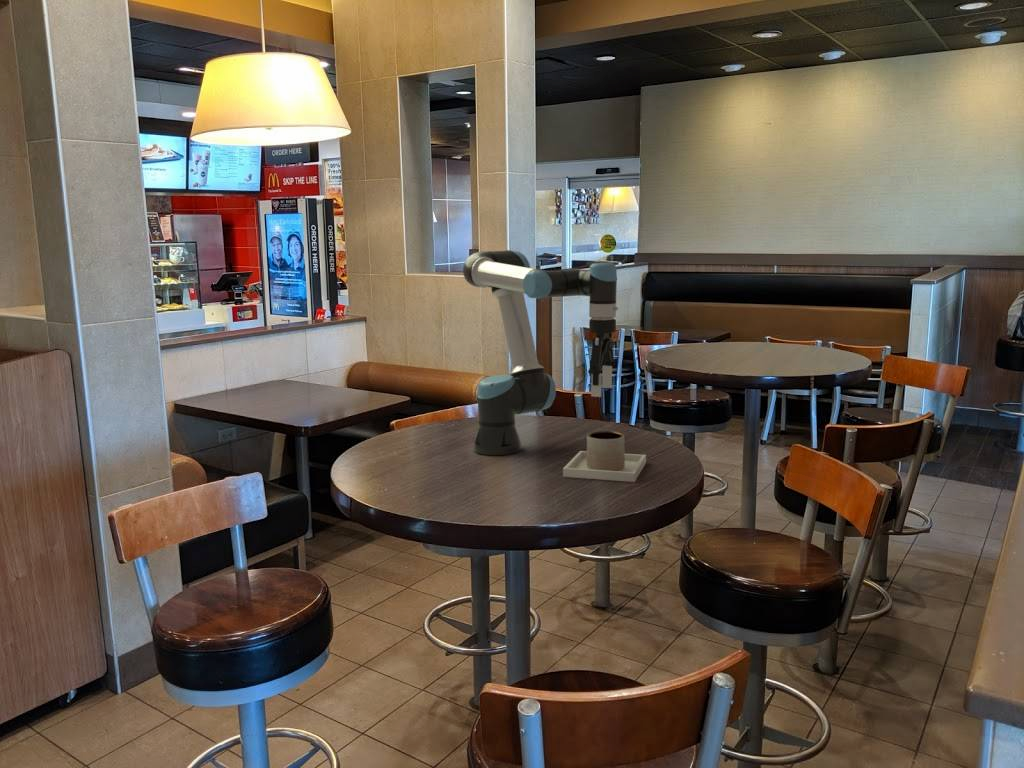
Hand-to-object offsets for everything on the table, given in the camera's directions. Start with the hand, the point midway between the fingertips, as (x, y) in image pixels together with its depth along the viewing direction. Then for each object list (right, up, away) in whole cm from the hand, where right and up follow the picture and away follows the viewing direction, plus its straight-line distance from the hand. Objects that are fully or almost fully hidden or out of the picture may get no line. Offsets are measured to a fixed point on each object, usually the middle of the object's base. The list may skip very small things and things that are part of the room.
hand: (601, 392), depth 226 cm
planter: (+1, -22, -1) cm, 22 cm away
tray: (+1, -22, -1) cm, 22 cm away
